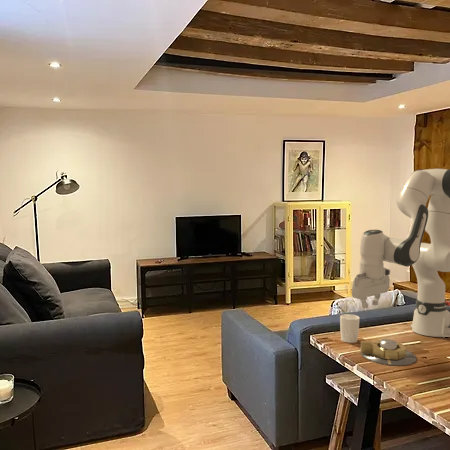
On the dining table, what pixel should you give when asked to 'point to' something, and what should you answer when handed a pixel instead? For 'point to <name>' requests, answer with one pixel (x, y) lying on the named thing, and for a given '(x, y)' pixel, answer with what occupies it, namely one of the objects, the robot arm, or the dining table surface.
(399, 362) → the hub plate
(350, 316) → the white cup
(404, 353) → the ring nut
